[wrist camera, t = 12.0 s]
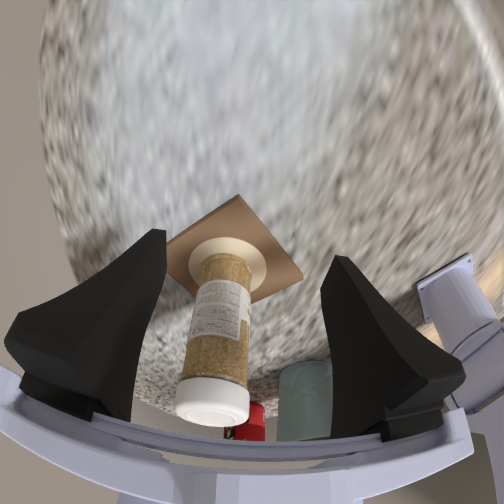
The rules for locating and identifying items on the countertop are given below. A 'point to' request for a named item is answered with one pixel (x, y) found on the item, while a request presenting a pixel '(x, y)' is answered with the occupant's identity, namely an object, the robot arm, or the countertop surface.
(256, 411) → the canned food
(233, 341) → the spice jar
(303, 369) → the grey-green tapered cup
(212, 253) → the spice coaster
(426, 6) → the countertop surface
